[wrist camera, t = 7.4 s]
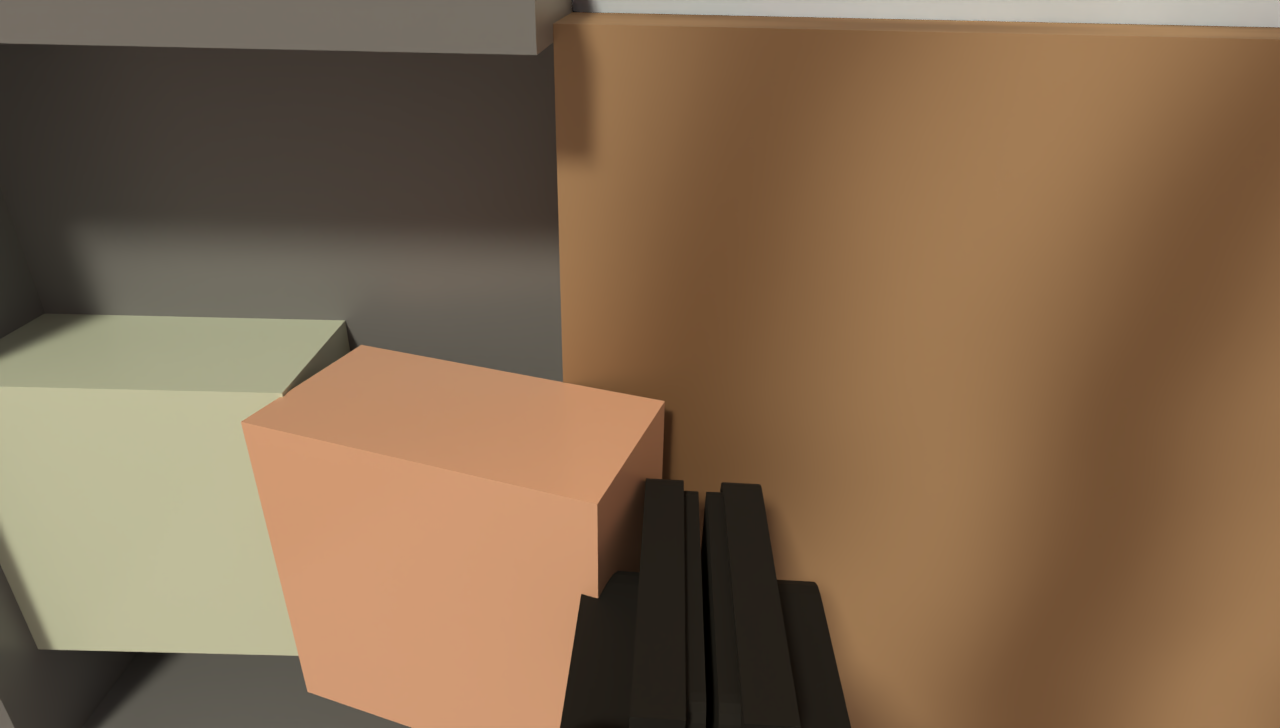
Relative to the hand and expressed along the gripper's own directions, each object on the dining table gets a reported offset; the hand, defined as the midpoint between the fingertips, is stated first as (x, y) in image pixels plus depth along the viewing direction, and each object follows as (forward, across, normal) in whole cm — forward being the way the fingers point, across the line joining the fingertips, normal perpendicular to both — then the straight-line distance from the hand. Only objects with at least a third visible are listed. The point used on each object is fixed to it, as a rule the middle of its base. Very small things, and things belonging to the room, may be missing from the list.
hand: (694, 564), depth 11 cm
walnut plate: (+4, -7, 0) cm, 8 cm away
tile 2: (+2, +3, 0) cm, 3 cm away
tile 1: (+3, +8, 0) cm, 9 cm away
